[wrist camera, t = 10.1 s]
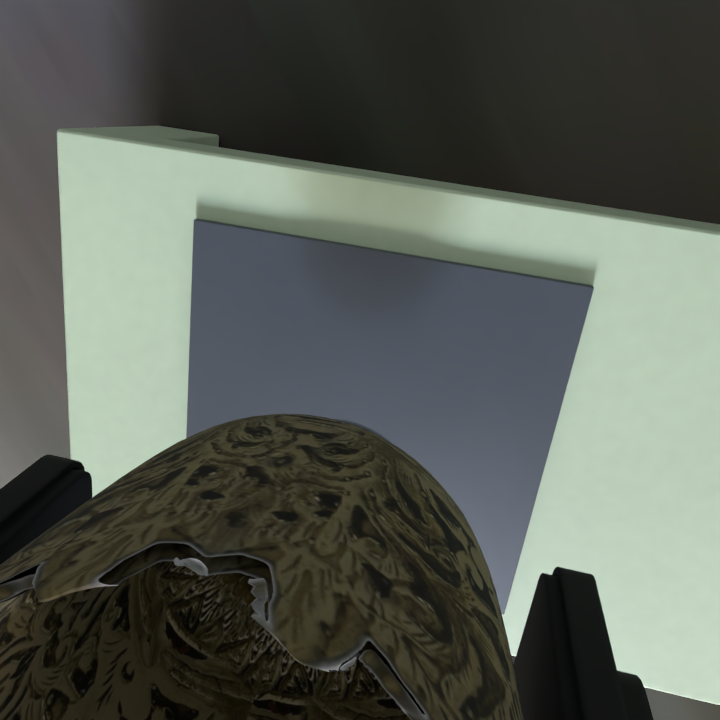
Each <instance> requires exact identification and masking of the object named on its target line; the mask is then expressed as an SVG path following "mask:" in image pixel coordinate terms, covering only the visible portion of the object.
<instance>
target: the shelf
mask: <svg viewBox="0 0 720 720" xmlns="http://www.w3.org/2000/svg"><path fill="white" fill-rule="evenodd" d="M57 153H58V176H59V199H60V222H61V246H62V269H63V292H64V315H65V339H66V362H67V385H68V409H69V432H70V455H71V459H72V460H76V461H79V462H81V463H82V464H83V466H84V470H85V471H86V472H89V473H90V475H91V478H92V498H93V497H94V496H95V495H97V494H98V493H100V492H101V491H102V490H104V489H105V488H107V487H108V486H109V485H111V484H112V483H114V482H115V481H117V480H118V479H120V478H121V477H123V476H124V475H126V474H127V473H129V472H130V471H132V470H133V469H135V468H136V467H138V466H139V465H141V464H142V463H144V462H145V461H147V460H149V459H150V458H152V457H153V456H155V455H157V454H158V453H160V452H162V451H163V450H165V449H167V448H169V447H170V446H172V445H174V444H176V443H177V442H179V441H181V440H184V439H186V438H188V437H190V436H192V435H194V434H197V433H199V432H201V431H204V430H206V429H209V428H211V427H213V426H216V425H220V424H223V423H226V422H229V421H232V420H237V419H242V418H247V417H252V416H261V415H272V414H305V415H312V416H320V417H325V418H330V419H341V420H347V421H351V422H355V423H358V424H361V425H364V426H366V427H368V428H370V429H372V430H374V431H376V432H377V433H379V434H381V435H382V436H383V437H385V438H386V439H388V440H389V441H390V442H391V443H392V444H394V445H395V446H397V447H399V448H400V449H402V450H403V451H404V452H406V453H407V454H408V455H410V456H411V457H413V458H414V459H415V460H417V461H418V462H419V463H420V464H421V465H422V466H423V467H424V468H425V469H426V470H428V471H429V472H430V473H431V474H432V475H433V476H434V478H435V479H436V480H437V481H438V482H439V483H440V484H441V485H442V487H443V488H444V489H445V490H446V491H447V492H448V494H449V495H450V496H451V497H452V499H453V500H454V501H455V503H456V504H457V506H458V507H459V508H460V510H461V511H462V513H463V514H464V516H465V518H466V520H467V521H468V523H469V525H470V527H471V529H472V530H473V532H474V535H475V537H476V539H477V541H478V543H479V546H480V548H481V550H482V553H483V555H484V558H485V560H486V563H487V565H488V568H489V571H490V574H491V577H492V580H493V584H494V587H495V590H496V594H497V598H498V601H499V605H500V609H501V613H502V617H503V622H504V626H505V630H506V634H507V638H508V643H509V648H510V653H511V655H512V656H516V655H517V651H518V648H519V644H520V641H521V638H522V634H523V631H524V627H525V624H526V621H527V617H528V614H529V610H530V607H531V604H532V600H533V597H534V593H535V590H536V587H537V583H538V580H539V577H540V575H541V574H542V573H545V574H550V575H552V573H553V571H554V569H555V568H556V567H562V568H566V569H571V570H575V571H580V572H584V573H589V574H592V575H593V576H594V578H595V580H596V584H597V588H598V593H599V597H600V601H601V605H602V610H603V614H604V618H605V622H606V626H607V631H608V635H609V639H610V643H611V647H612V652H613V656H614V660H615V664H616V668H617V671H622V672H626V673H630V674H634V675H637V676H638V677H639V678H640V679H641V681H642V683H643V686H644V687H646V688H650V689H654V690H659V691H663V692H667V693H671V694H675V695H679V696H684V697H688V698H692V699H696V700H700V701H705V702H709V703H713V704H717V705H720V224H713V223H707V222H700V221H694V220H687V219H681V218H674V217H668V216H661V215H655V214H648V213H642V212H635V211H629V210H622V209H616V208H610V207H603V206H597V205H590V204H584V203H577V202H571V201H564V200H558V199H551V198H545V197H538V196H532V195H525V194H519V193H512V192H506V191H500V190H493V189H487V188H480V187H474V186H467V185H461V184H454V183H448V182H441V181H435V180H428V179H422V178H415V177H409V176H402V175H396V174H390V173H383V172H377V171H370V170H364V169H357V168H351V167H344V166H338V165H331V164H325V163H318V162H312V161H305V160H299V159H292V158H286V157H280V156H273V155H267V154H260V153H254V152H247V151H241V150H234V149H228V148H221V147H219V136H218V135H217V134H210V133H203V132H197V131H190V130H184V129H177V128H171V127H164V126H128V127H96V128H64V129H58V130H57Z"/></svg>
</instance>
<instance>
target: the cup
mask: <svg viewBox="0 0 720 720" xmlns="http://www.w3.org/2000/svg"><path fill="white" fill-rule="evenodd" d="M0 720H524V718H523V713H522V708H521V702H520V697H519V692H518V687H517V682H516V677H515V672H514V667H513V662H512V657H511V653H510V648H509V643H508V638H507V634H506V630H505V626H504V622H503V617H502V613H501V609H500V605H499V601H498V598H497V594H496V590H495V587H494V584H493V580H492V577H491V574H490V571H489V568H488V565H487V563H486V560H485V558H484V555H483V553H482V550H481V548H480V546H479V543H478V541H477V539H476V537H475V535H474V532H473V530H472V529H471V527H470V525H469V523H468V521H467V520H466V518H465V516H464V514H463V513H462V511H461V510H460V508H459V507H458V506H457V504H456V503H455V501H454V500H453V499H452V497H451V496H450V495H449V494H448V492H447V491H446V490H445V489H444V488H443V487H442V485H441V484H440V483H439V482H438V481H437V480H436V479H435V478H434V476H433V475H432V474H431V473H430V472H429V471H428V470H426V469H425V468H424V467H423V466H422V465H421V464H420V463H419V462H418V461H417V460H415V459H414V458H413V457H411V456H410V455H408V454H407V453H406V452H404V451H403V450H402V449H400V448H399V447H397V446H395V445H394V444H392V443H391V442H390V441H389V440H388V439H386V438H385V437H383V436H382V435H381V434H379V433H377V432H376V431H374V430H372V429H370V428H368V427H366V426H364V425H361V424H358V423H355V422H351V421H347V420H341V419H330V418H325V417H320V416H312V415H305V414H272V415H261V416H252V417H247V418H242V419H237V420H232V421H229V422H226V423H223V424H220V425H216V426H213V427H211V428H209V429H206V430H204V431H201V432H199V433H197V434H194V435H192V436H190V437H188V438H186V439H184V440H181V441H179V442H177V443H176V444H174V445H172V446H170V447H169V448H167V449H165V450H163V451H162V452H160V453H158V454H157V455H155V456H153V457H152V458H150V459H149V460H147V461H145V462H144V463H142V464H141V465H139V466H138V467H136V468H135V469H133V470H132V471H130V472H129V473H127V474H126V475H124V476H123V477H121V478H120V479H118V480H117V481H115V482H114V483H112V484H111V485H109V486H108V487H107V488H105V489H104V490H102V491H101V492H100V493H98V494H97V495H95V496H94V497H93V498H91V499H90V500H88V501H87V502H86V503H84V504H83V505H81V506H80V507H79V508H77V509H76V510H74V511H73V512H72V513H70V514H69V515H67V516H66V517H65V518H63V519H62V520H61V521H59V522H58V523H56V524H55V525H54V526H52V527H51V528H50V529H48V530H47V531H45V532H44V533H43V534H41V535H40V536H39V537H37V538H36V539H34V540H33V541H32V542H30V543H29V544H28V545H26V546H25V547H24V548H22V549H21V550H20V551H18V552H17V553H15V554H14V555H13V556H11V557H10V558H9V559H7V560H6V561H5V562H3V563H2V564H1V565H0Z"/></svg>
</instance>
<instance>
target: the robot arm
mask: <svg viewBox="0 0 720 720" xmlns="http://www.w3.org/2000/svg"><path fill="white" fill-rule="evenodd" d="M91 498H92V478H91V475H90V473H89V472H86V471H85V470H84V466H83V464H82V463H81V462H79V461H76V460H72V459H67V458H63V457H58V456H54V455H45V456H43V457H42V458H40V459H39V460H38V461H36V462H35V463H34V464H32V465H31V466H30V467H28V468H27V469H26V470H25V471H23V472H22V473H21V474H19V475H18V476H17V477H16V478H14V479H13V480H12V481H10V482H9V483H8V484H6V485H5V486H4V487H3V488H1V489H0V565H1V564H2V563H3V562H5V561H6V560H7V559H9V558H10V557H11V556H13V555H14V554H15V553H17V552H18V551H20V550H21V549H22V548H24V547H25V546H26V545H28V544H29V543H30V542H32V541H33V540H34V539H36V538H37V537H39V536H40V535H41V534H43V533H44V532H45V531H47V530H48V529H50V528H51V527H52V526H54V525H55V524H56V523H58V522H59V521H61V520H62V519H63V518H65V517H66V516H67V515H69V514H70V513H72V512H73V511H74V510H76V509H77V508H79V507H80V506H81V505H83V504H84V503H86V502H87V501H88V500H90V499H91ZM513 667H514V672H515V677H516V682H517V687H518V692H519V697H520V702H521V708H522V713H523V718H524V720H653V717H652V713H651V709H650V706H649V702H648V699H647V695H646V691H645V688H644V686H643V683H642V681H641V679H640V678H639V677H638V676H637V675H634V674H630V673H626V672H622V671H617V668H616V664H615V660H614V656H613V652H612V647H611V643H610V639H609V635H608V631H607V626H606V622H605V618H604V614H603V610H602V605H601V601H600V597H599V593H598V588H597V584H596V580H595V578H594V576H593V575H592V574H589V573H584V572H580V571H575V570H571V569H566V568H562V567H556V568H555V569H554V571H553V573H552V575H550V574H545V573H542V574H541V575H540V577H539V580H538V583H537V587H536V590H535V593H534V597H533V600H532V604H531V607H530V610H529V614H528V617H527V621H526V624H525V627H524V631H523V634H522V638H521V641H520V644H519V648H518V651H517V655H516V658H515V661H514V665H513Z"/></svg>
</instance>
